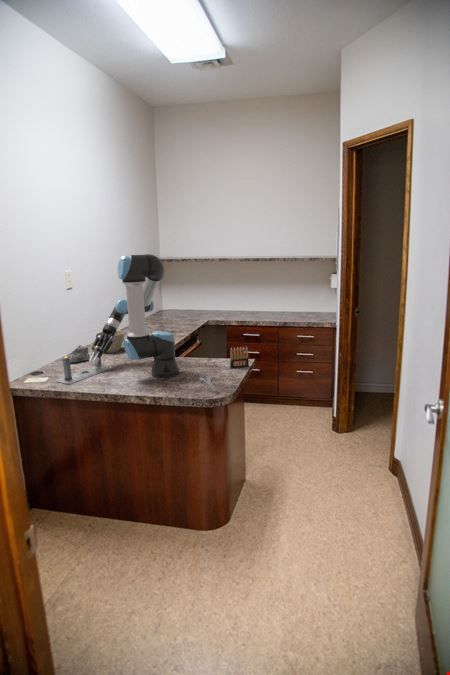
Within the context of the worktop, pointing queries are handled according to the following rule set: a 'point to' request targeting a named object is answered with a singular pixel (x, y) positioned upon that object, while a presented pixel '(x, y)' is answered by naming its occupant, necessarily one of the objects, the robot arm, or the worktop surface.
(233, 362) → the ammunition clip
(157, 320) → the worktop surface
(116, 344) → the flower pot
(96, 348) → the leg
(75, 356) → the mineral rock
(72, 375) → the bolt plate
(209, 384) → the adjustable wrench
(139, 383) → the worktop surface
